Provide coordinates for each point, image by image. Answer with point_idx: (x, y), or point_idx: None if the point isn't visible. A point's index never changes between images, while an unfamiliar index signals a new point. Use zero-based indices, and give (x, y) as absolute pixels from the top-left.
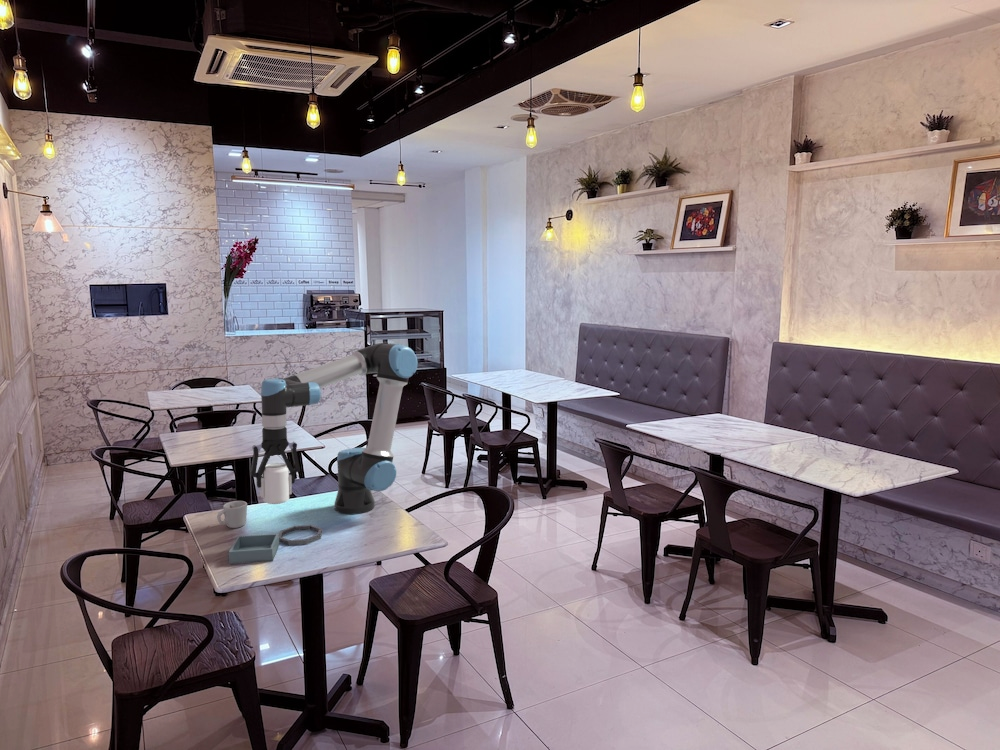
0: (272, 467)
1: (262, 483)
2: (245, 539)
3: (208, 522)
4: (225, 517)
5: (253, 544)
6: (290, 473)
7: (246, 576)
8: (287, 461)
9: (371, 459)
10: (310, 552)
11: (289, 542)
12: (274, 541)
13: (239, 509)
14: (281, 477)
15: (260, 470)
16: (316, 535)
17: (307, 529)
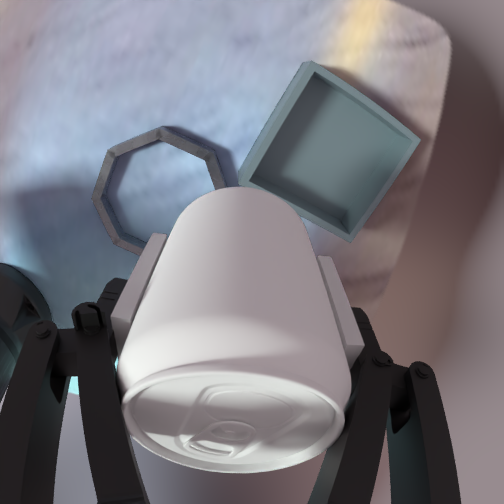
0: (265, 425)
1: (347, 315)
2: (332, 222)
3: None
4: None
5: (309, 204)
6: (113, 342)
7: (396, 24)
8: (103, 438)
9: None
10: (176, 55)
11: (211, 150)
12: (278, 120)
13: None
14: (216, 278)
15: (384, 402)
16: (120, 148)
17: (128, 236)
